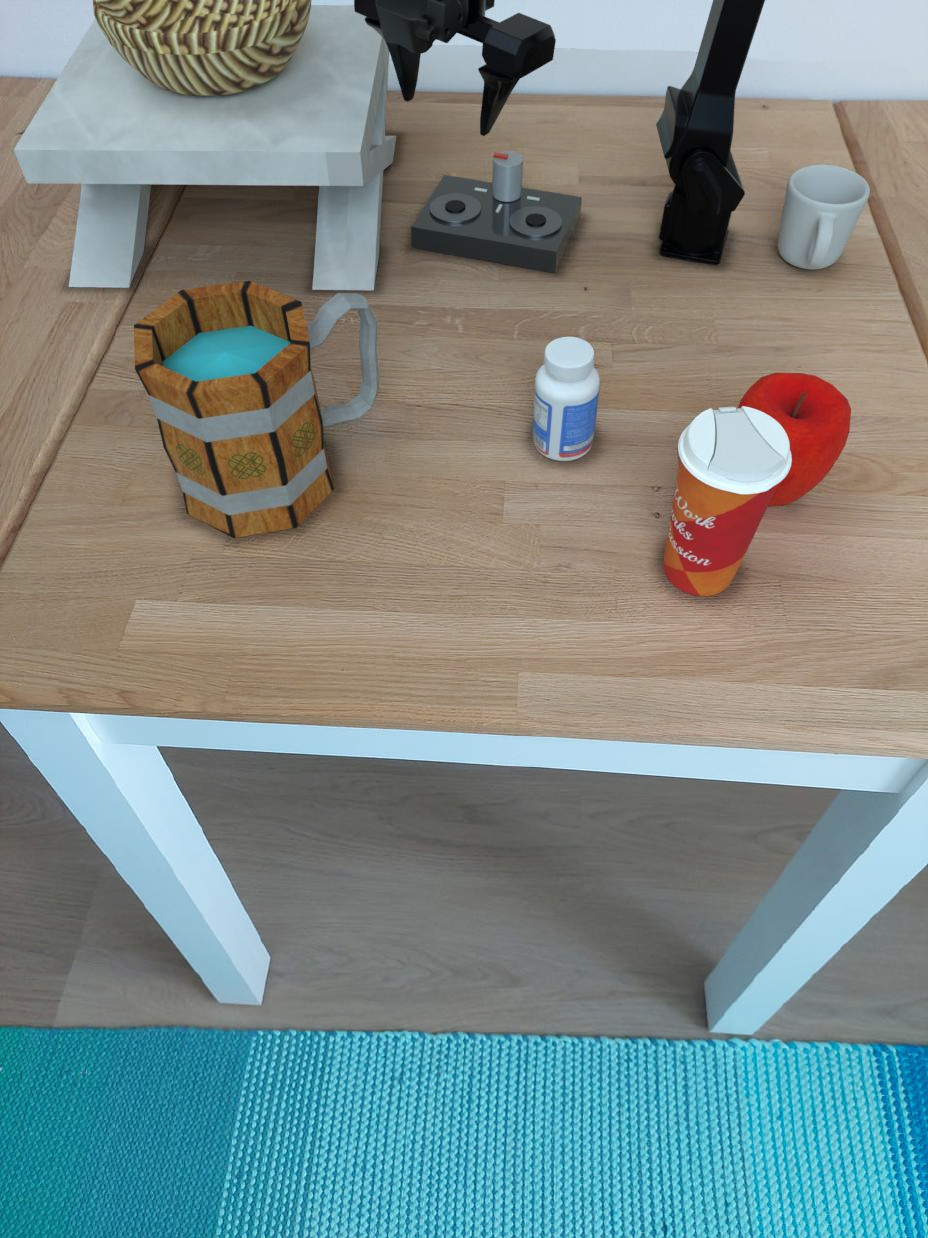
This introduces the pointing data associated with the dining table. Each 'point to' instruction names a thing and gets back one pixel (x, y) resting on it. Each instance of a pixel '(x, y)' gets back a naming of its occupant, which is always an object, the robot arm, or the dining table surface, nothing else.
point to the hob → (497, 227)
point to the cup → (820, 214)
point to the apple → (803, 426)
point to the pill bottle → (566, 400)
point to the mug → (247, 400)
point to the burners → (521, 221)
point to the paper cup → (721, 494)
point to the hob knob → (507, 176)
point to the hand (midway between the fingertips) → (446, 116)
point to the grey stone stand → (218, 123)
